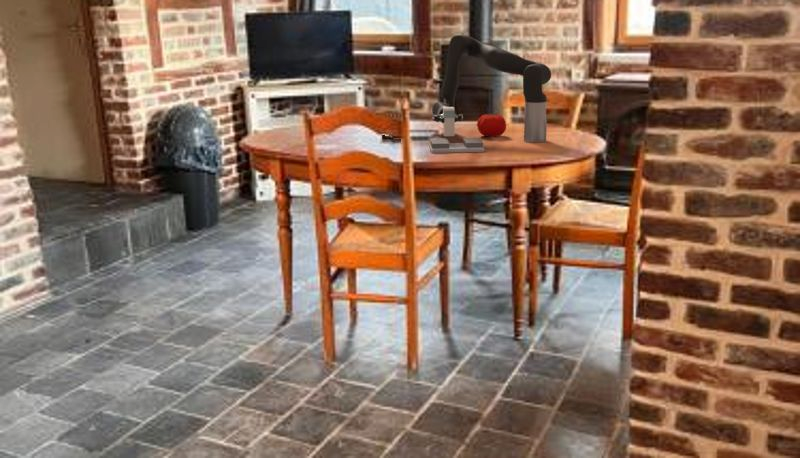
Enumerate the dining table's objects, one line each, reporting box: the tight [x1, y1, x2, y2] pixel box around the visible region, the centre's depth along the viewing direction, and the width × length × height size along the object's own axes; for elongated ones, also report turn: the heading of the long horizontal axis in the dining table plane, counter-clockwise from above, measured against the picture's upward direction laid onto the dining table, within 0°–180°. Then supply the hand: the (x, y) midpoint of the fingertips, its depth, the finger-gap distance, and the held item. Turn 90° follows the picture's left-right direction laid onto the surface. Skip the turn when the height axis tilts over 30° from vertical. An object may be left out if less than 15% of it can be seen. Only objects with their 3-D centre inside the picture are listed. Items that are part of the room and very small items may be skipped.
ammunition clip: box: [381, 112, 401, 141], centre depth 354 cm, size 11×2×12 cm, turn 88°
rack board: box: [428, 137, 486, 154], centre depth 327 cm, size 22×16×4 cm
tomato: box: [476, 112, 507, 137], centre depth 356 cm, size 13×12×11 cm
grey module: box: [442, 106, 456, 137], centre depth 339 cm, size 5×5×12 cm
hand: (449, 120), depth 337 cm, fingers closed on grey module, 4 cm apart
